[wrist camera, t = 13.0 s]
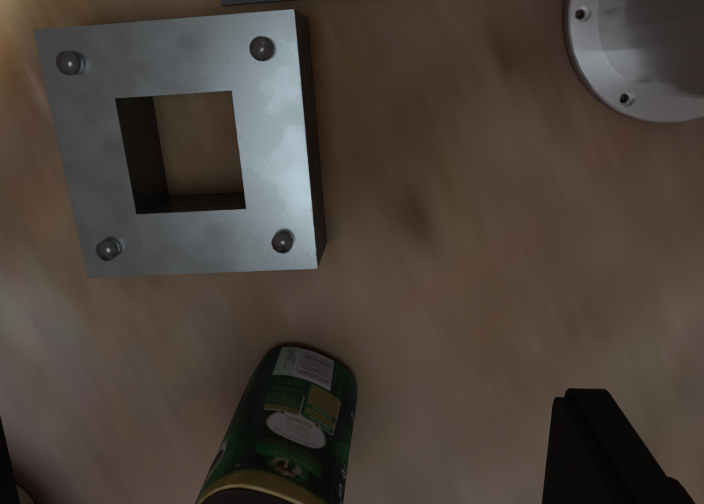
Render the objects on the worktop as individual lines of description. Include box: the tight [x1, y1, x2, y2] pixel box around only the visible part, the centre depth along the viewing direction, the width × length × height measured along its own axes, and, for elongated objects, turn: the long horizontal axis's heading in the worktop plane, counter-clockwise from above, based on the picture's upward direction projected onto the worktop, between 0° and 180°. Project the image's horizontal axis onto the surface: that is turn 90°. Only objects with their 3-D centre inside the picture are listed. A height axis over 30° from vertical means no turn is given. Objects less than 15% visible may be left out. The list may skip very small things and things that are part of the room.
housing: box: [33, 9, 327, 278], centre depth 34 cm, size 14×14×6 cm
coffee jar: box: [195, 346, 357, 504], centre depth 33 cm, size 10×8×19 cm
